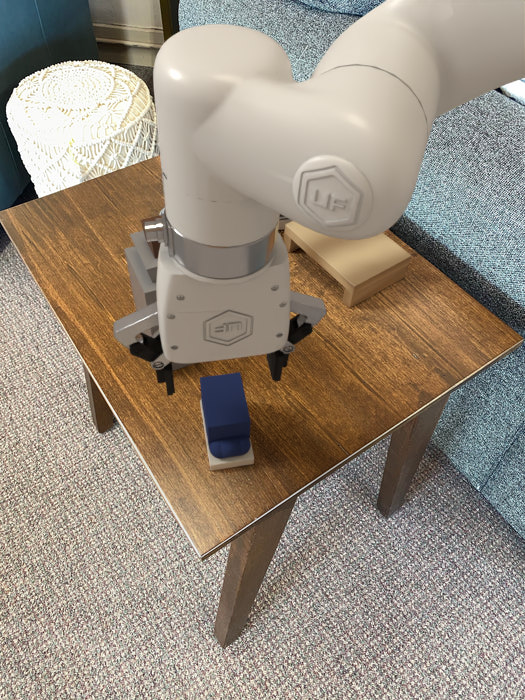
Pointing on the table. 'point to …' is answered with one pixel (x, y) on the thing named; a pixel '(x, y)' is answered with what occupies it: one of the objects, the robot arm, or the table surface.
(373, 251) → the shoe shelf
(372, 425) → the table surface
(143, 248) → the perfume bottle
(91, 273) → the table surface
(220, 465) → the high-top sneaker
